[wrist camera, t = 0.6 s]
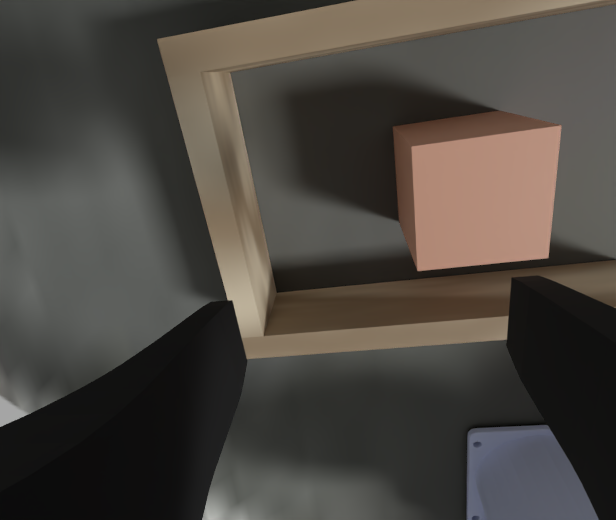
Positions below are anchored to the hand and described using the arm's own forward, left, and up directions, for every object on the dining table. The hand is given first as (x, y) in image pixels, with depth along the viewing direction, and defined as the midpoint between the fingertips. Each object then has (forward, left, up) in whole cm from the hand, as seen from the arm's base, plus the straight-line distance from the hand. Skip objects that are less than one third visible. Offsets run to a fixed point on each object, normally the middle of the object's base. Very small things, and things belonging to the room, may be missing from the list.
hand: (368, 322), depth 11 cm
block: (+1, -4, -10) cm, 11 cm away
